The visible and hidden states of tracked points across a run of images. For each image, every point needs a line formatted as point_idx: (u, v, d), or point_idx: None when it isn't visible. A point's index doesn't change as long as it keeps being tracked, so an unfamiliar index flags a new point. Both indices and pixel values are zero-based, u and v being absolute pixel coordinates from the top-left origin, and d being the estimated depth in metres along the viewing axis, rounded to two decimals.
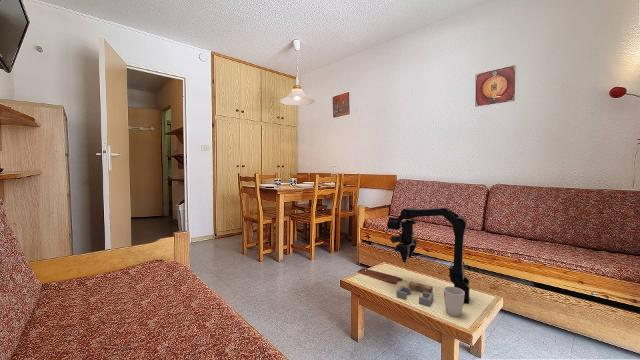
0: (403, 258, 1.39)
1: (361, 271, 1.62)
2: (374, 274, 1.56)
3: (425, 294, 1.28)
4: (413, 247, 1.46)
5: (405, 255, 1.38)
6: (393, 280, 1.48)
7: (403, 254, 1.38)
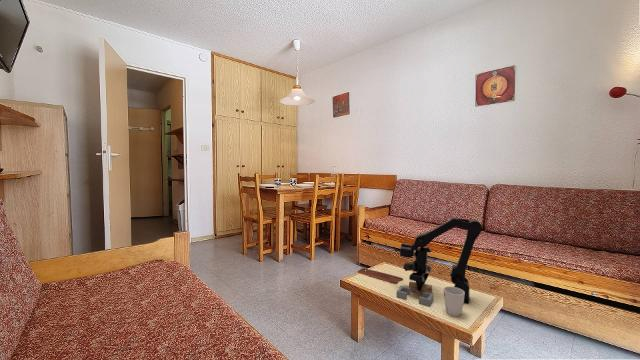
0: (418, 286, 1.35)
1: (361, 271, 1.62)
2: (374, 274, 1.56)
3: (425, 294, 1.28)
4: (425, 276, 1.38)
5: (420, 283, 1.33)
6: (394, 280, 1.48)
7: (418, 282, 1.34)
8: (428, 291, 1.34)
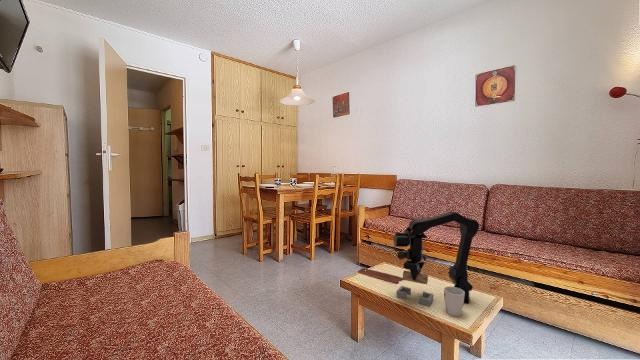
0: (413, 275, 1.26)
1: (362, 271, 1.62)
2: (375, 274, 1.56)
3: (425, 294, 1.28)
4: (421, 265, 1.29)
5: (415, 272, 1.25)
6: (394, 280, 1.48)
7: (413, 271, 1.26)
8: (423, 280, 1.25)
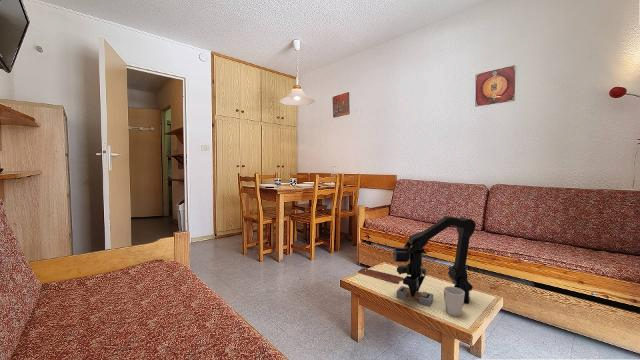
0: (411, 292, 1.25)
1: (362, 271, 1.61)
2: (375, 274, 1.56)
3: None
4: (421, 279, 1.31)
5: (414, 289, 1.24)
6: (395, 280, 1.48)
7: (412, 287, 1.25)
8: None
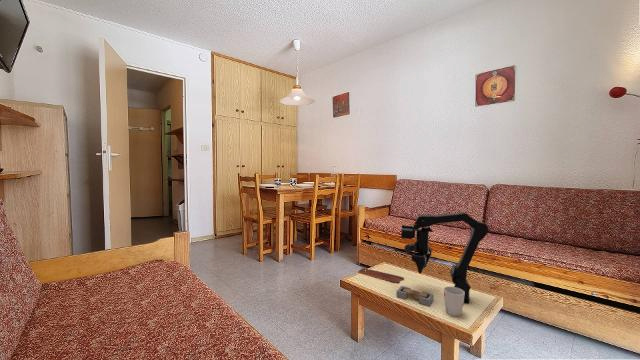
0: (419, 269, 1.29)
1: (362, 271, 1.61)
2: (376, 274, 1.56)
3: None
4: (428, 256, 1.37)
5: (421, 266, 1.28)
6: (395, 279, 1.49)
7: (419, 264, 1.29)
8: None
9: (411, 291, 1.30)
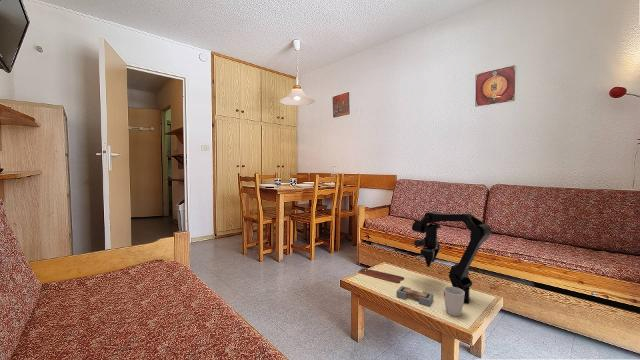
0: (427, 262, 1.38)
1: (362, 271, 1.61)
2: (376, 274, 1.56)
3: None
4: (436, 251, 1.45)
5: (430, 259, 1.37)
6: (396, 279, 1.49)
7: (427, 258, 1.38)
8: None
9: (411, 291, 1.30)
